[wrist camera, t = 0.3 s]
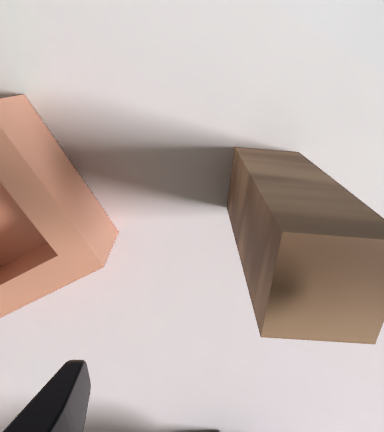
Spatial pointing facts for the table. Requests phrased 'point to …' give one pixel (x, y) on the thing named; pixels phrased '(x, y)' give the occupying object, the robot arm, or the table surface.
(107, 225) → the box
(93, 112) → the table surface
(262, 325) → the walnut stick
